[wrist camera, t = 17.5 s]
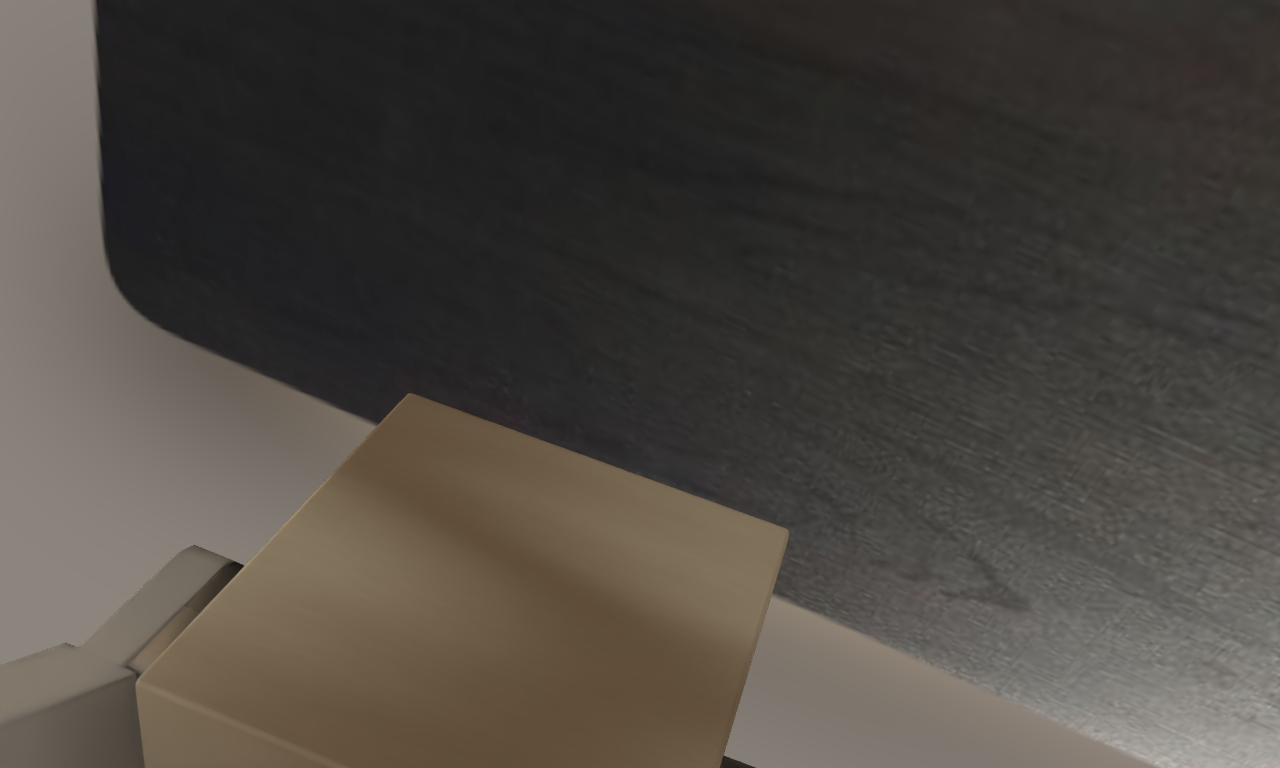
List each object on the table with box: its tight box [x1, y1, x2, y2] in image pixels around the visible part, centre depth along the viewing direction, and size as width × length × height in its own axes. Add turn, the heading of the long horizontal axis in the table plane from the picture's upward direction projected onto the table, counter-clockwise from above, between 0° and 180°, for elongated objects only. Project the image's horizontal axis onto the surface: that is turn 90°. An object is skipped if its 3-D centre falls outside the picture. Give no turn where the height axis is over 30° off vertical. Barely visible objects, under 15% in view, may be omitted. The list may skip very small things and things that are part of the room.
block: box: [135, 393, 789, 768], centre depth 11 cm, size 4×4×4 cm
